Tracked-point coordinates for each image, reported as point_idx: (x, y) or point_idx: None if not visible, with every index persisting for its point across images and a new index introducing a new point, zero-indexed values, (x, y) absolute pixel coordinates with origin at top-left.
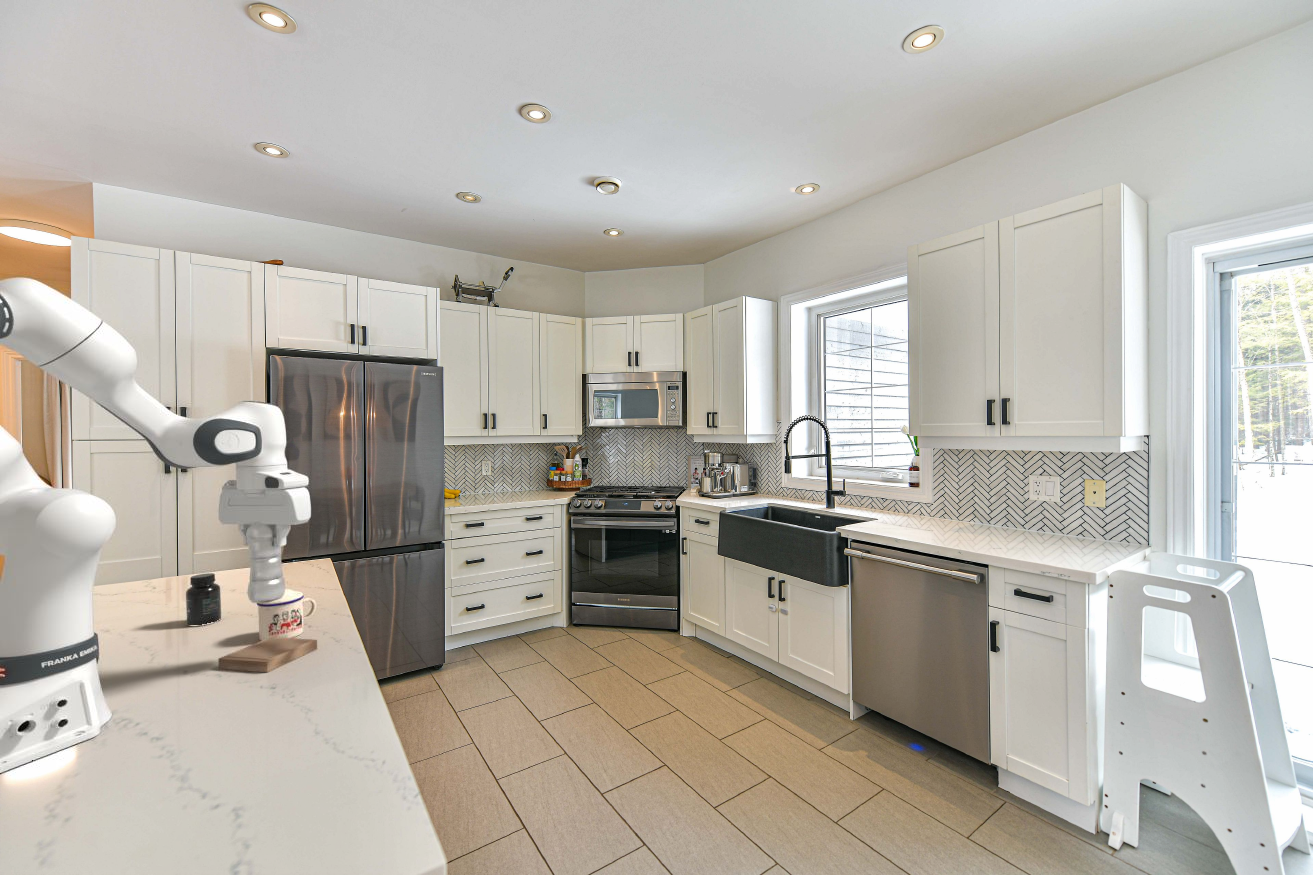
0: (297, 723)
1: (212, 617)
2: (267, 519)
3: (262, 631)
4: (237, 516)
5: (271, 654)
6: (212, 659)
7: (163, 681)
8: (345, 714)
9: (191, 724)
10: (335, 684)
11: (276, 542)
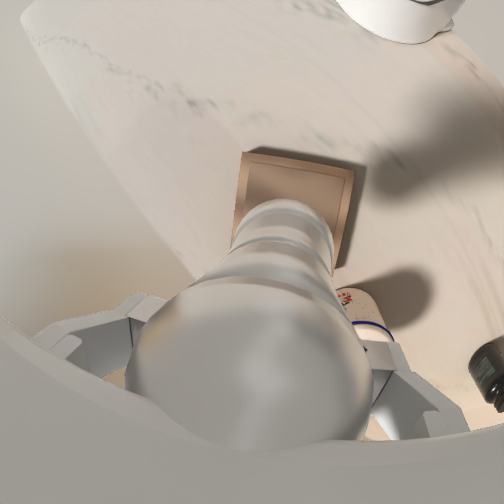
0: (107, 47)
1: (475, 360)
2: (60, 399)
3: (364, 297)
4: (492, 482)
5: (261, 184)
6: (394, 213)
7: (400, 125)
8: (77, 75)
9: (221, 12)
10: (118, 127)
11: (142, 301)
